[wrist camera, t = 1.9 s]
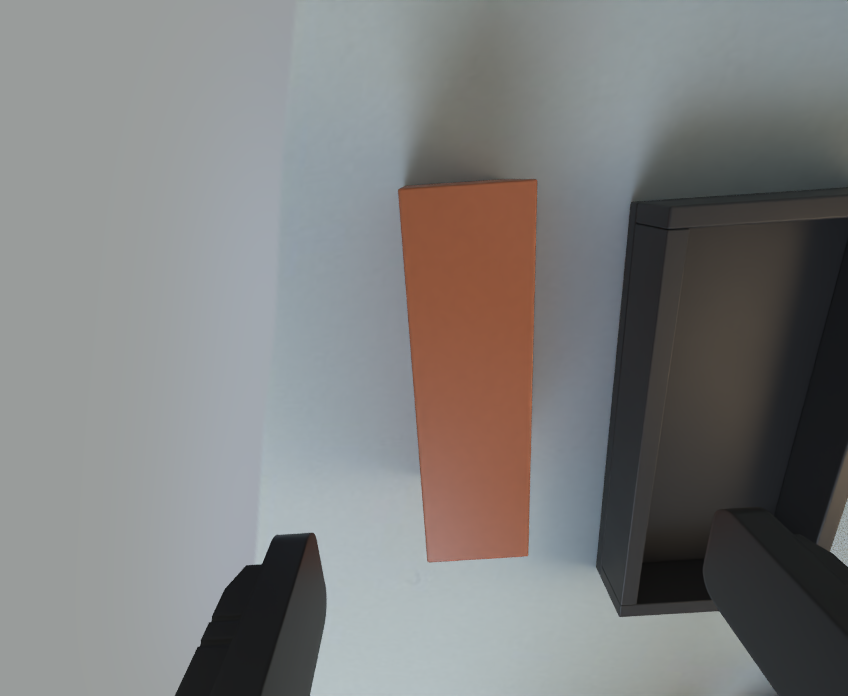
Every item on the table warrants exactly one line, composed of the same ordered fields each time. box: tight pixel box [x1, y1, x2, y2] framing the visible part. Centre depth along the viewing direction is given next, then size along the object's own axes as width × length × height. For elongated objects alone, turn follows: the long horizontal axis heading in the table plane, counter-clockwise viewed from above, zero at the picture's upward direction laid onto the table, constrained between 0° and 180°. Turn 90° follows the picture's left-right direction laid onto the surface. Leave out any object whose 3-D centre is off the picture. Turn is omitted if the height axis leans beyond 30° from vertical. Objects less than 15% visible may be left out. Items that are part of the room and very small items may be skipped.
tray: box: [596, 187, 848, 617], centre depth 20 cm, size 20×10×3 cm, turn 4°
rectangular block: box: [398, 179, 537, 562], centre depth 18 cm, size 14×4×6 cm, turn 4°
